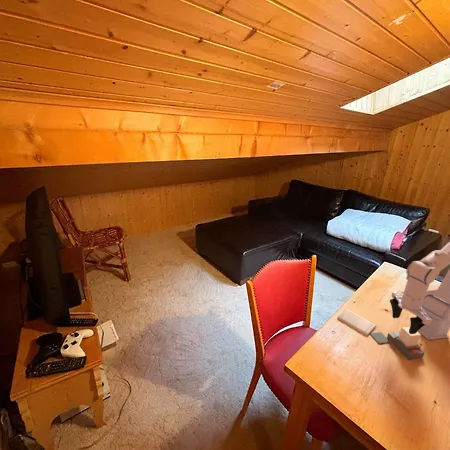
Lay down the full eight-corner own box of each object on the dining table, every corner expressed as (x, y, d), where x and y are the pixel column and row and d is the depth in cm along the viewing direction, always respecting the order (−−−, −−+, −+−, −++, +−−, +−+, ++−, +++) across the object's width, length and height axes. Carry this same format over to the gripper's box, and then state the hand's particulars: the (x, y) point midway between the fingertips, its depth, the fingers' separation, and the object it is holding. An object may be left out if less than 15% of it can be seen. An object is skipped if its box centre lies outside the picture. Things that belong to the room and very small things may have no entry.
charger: (407, 338, 91) (411, 326, 89) (416, 347, 88) (421, 334, 86) (397, 339, 91) (401, 327, 89) (406, 348, 87) (410, 335, 85)
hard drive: (337, 316, 105) (367, 333, 95) (347, 308, 109) (376, 324, 100) (337, 319, 105) (366, 337, 96) (346, 311, 110) (375, 327, 101)
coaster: (381, 332, 97) (381, 332, 97) (390, 342, 93) (390, 341, 93) (370, 334, 97) (370, 333, 97) (378, 343, 92) (378, 342, 92)
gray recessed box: (400, 336, 96) (402, 329, 94) (422, 357, 86) (425, 350, 85) (386, 337, 95) (389, 330, 94) (407, 359, 86) (410, 352, 85)
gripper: (387, 282, 89) (379, 312, 94) (421, 309, 76) (409, 342, 81) (405, 281, 90) (396, 310, 95) (441, 308, 76) (428, 340, 81)
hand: (403, 325), depth 88 cm, fingers open, 7 cm apart
